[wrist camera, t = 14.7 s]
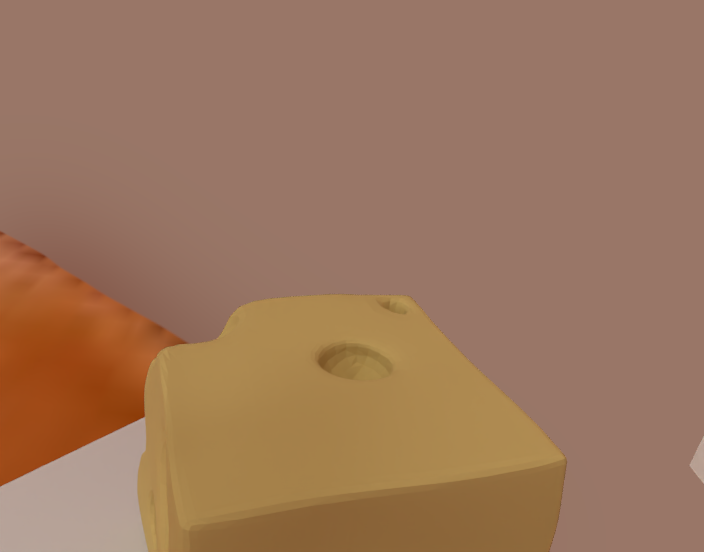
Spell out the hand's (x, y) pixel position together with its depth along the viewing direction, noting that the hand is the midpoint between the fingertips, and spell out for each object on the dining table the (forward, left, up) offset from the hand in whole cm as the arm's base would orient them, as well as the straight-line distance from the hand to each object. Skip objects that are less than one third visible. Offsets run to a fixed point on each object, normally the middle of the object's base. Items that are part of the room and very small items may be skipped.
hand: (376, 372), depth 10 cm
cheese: (-4, +5, -14) cm, 15 cm away
